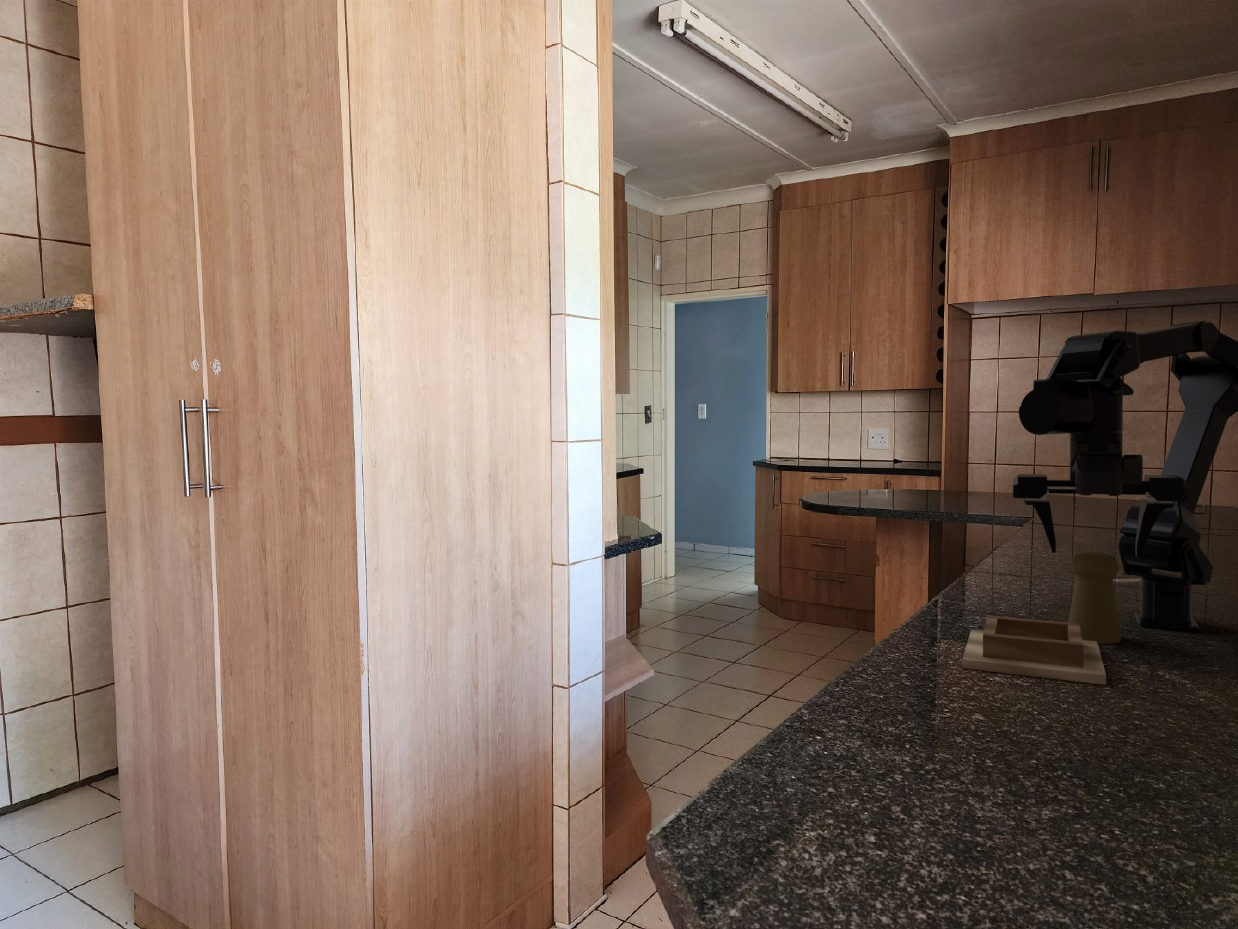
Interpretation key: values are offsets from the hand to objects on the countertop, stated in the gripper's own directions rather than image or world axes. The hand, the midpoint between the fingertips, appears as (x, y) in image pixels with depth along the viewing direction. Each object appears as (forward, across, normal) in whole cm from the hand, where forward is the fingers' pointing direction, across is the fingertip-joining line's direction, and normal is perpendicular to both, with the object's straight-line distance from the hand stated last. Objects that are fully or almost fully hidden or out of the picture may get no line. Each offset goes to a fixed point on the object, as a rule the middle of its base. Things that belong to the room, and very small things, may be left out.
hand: (1095, 554), depth 100 cm
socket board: (+11, -7, -13) cm, 18 cm away
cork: (+11, 0, 0) cm, 11 cm away
